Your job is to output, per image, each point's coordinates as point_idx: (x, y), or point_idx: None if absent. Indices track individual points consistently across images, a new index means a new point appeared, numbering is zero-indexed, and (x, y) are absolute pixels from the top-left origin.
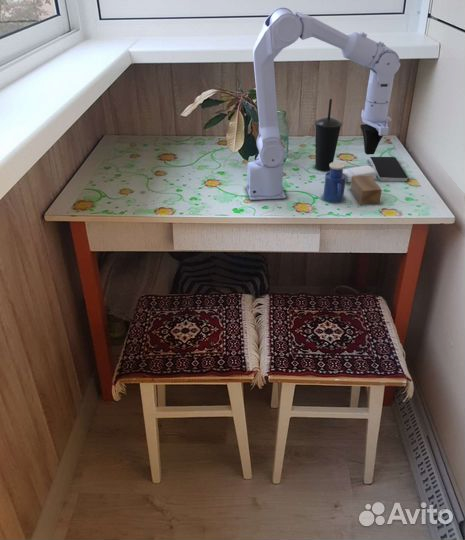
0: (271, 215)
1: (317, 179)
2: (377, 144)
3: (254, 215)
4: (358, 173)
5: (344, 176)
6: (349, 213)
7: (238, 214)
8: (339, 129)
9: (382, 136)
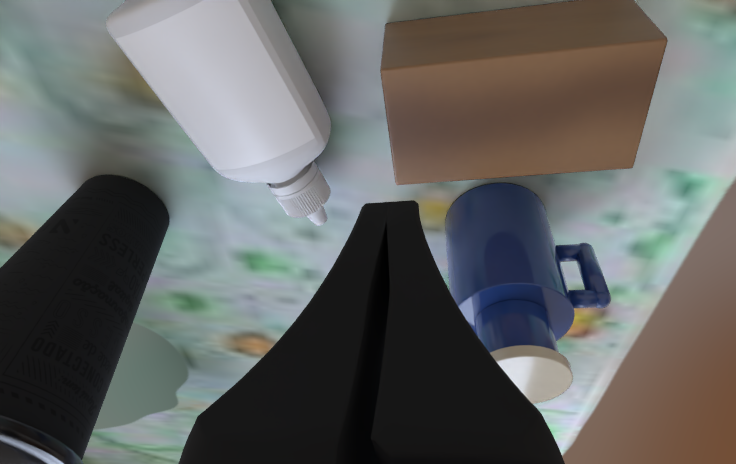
0: (588, 386)
1: (278, 247)
2: (438, 276)
3: (574, 412)
4: (294, 116)
5: (535, 290)
6: (678, 180)
7: (556, 433)
8: None
9: (498, 365)
